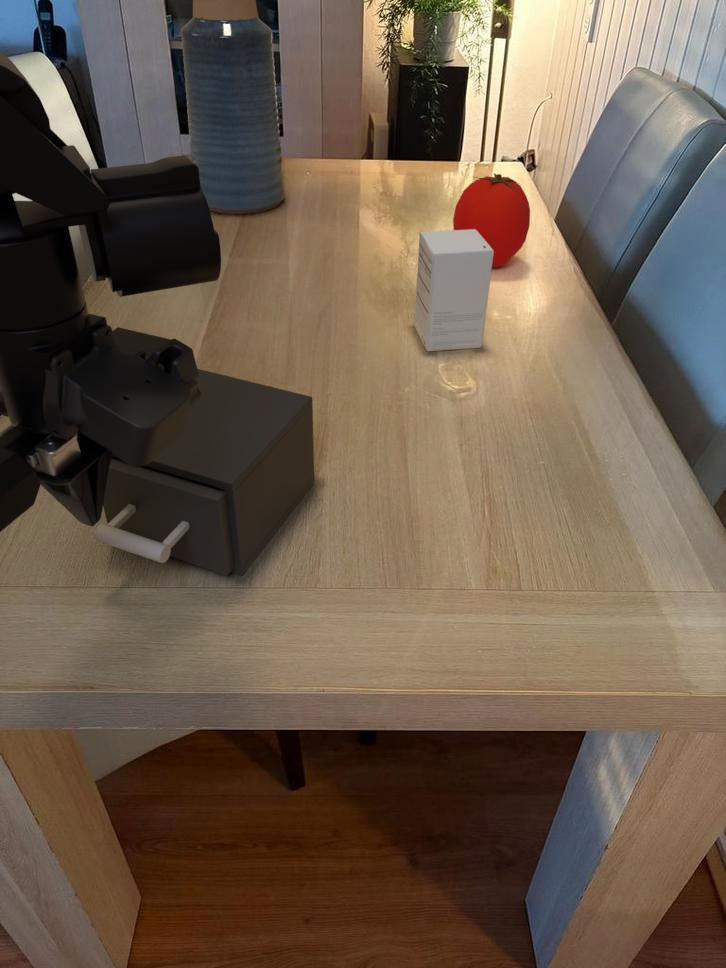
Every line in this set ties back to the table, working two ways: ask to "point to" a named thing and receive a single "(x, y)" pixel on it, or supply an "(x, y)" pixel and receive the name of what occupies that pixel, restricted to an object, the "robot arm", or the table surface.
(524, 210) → the tomato
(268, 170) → the vase
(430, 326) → the white packaging box
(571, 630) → the table surface
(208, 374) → the cabinet casing
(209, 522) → the drawer
